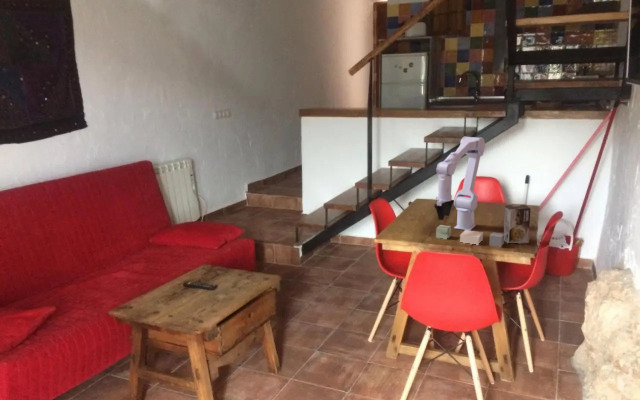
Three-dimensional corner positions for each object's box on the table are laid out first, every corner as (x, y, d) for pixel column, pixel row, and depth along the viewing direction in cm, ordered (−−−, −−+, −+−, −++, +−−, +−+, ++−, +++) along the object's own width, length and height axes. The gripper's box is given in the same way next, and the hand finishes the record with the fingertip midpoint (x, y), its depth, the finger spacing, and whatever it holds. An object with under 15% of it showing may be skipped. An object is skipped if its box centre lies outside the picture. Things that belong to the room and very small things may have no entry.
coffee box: (522, 238, 228) (525, 204, 224) (528, 243, 222) (531, 207, 218) (502, 239, 228) (504, 204, 224) (508, 244, 222) (510, 208, 218)
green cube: (439, 235, 237) (440, 224, 236) (450, 236, 234) (450, 226, 233) (436, 238, 233) (436, 227, 232) (446, 239, 230) (447, 229, 229)
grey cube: (492, 242, 224) (492, 232, 223) (503, 244, 222) (504, 233, 220) (489, 246, 220) (489, 235, 219) (501, 248, 217) (501, 236, 216)
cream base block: (464, 238, 232) (465, 230, 231) (482, 240, 228) (483, 232, 227) (459, 243, 225) (460, 234, 224) (478, 246, 221) (478, 237, 220)
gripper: (441, 184, 236) (440, 212, 239) (430, 190, 224) (429, 220, 227) (456, 186, 232) (455, 214, 236) (446, 192, 221) (445, 222, 224)
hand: (443, 217), depth 231 cm, fingers open, 7 cm apart
